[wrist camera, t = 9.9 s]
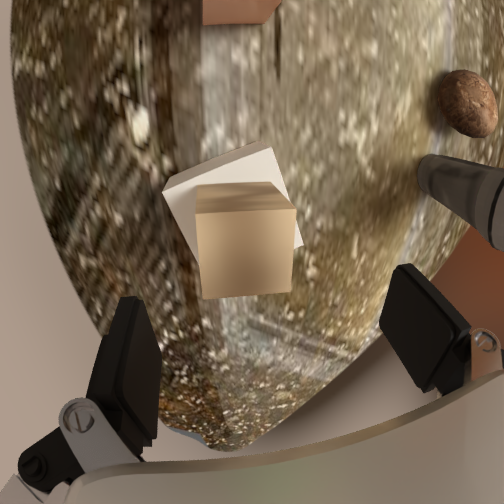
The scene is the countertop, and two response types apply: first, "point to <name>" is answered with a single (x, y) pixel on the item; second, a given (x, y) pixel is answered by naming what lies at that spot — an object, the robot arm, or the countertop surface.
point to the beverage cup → (467, 192)
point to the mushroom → (468, 103)
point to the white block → (221, 171)
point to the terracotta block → (237, 11)
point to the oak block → (244, 239)
